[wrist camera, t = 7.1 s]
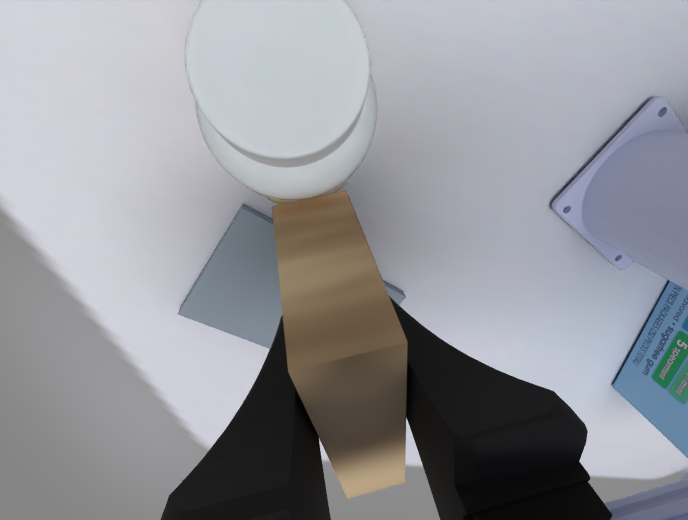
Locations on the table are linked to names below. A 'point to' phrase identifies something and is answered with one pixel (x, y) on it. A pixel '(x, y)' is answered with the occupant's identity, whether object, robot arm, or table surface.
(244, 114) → the supplement bottle
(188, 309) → the grey rectangular plate
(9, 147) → the table surface
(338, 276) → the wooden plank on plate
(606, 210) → the robot arm
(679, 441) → the gum box
